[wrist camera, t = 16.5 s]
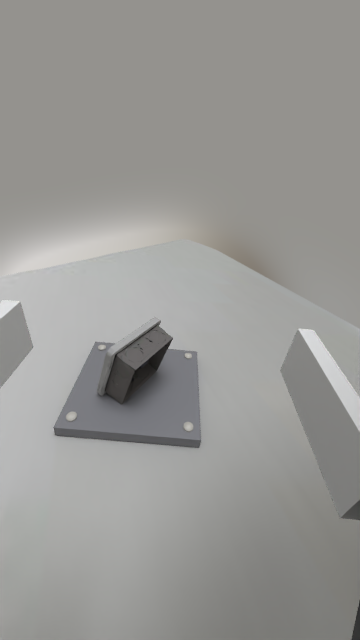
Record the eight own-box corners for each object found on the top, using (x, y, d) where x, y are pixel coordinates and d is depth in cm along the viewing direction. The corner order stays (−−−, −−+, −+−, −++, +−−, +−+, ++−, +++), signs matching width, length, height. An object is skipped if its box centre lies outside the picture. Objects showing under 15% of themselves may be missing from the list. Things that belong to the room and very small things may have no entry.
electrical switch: (140, 357, 41) (147, 309, 35) (167, 374, 39) (178, 326, 34) (95, 395, 34) (94, 342, 29) (124, 417, 32) (130, 366, 27)
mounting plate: (195, 358, 44) (197, 350, 43) (199, 447, 31) (201, 438, 30) (96, 348, 44) (95, 340, 43) (55, 435, 30) (53, 425, 29)
